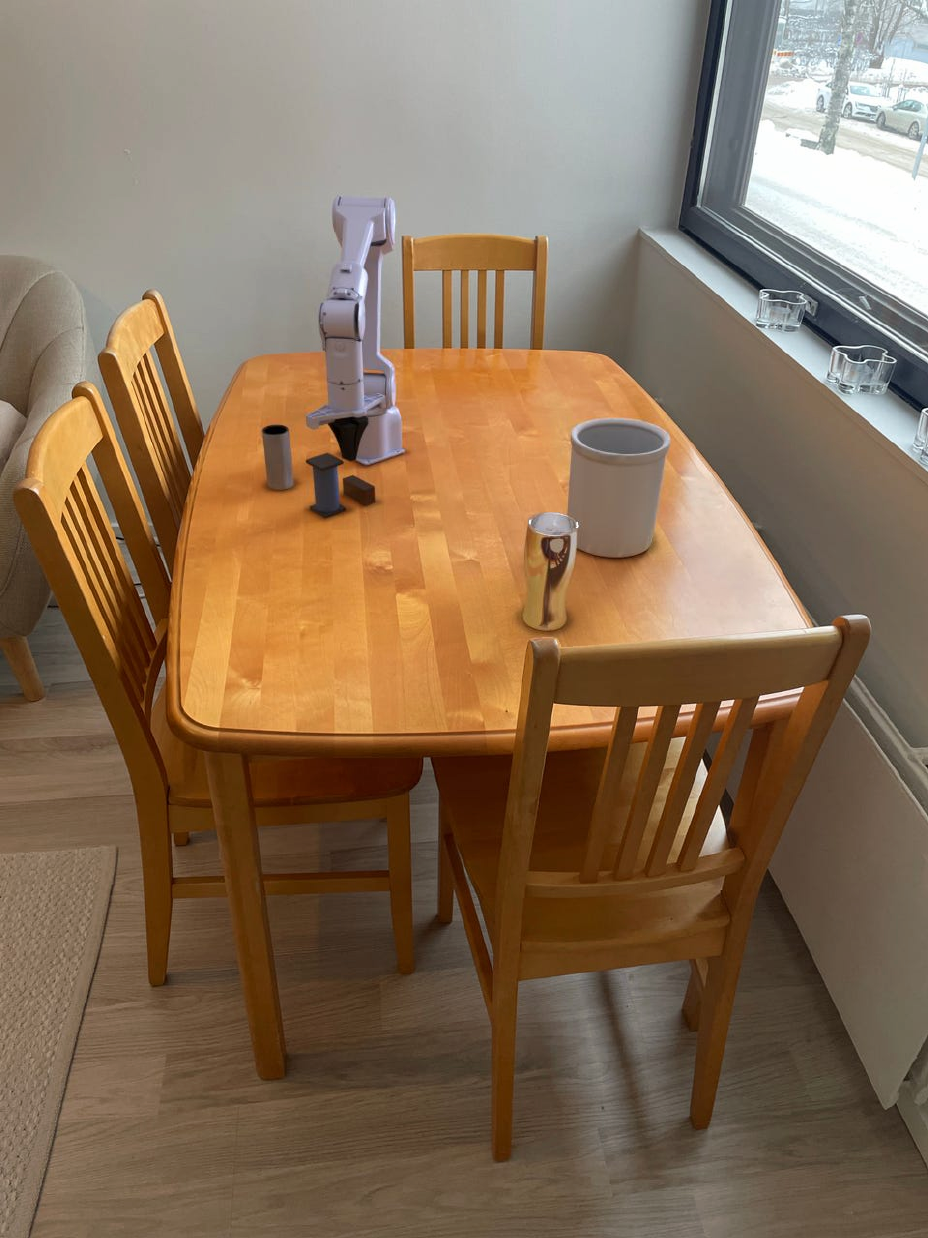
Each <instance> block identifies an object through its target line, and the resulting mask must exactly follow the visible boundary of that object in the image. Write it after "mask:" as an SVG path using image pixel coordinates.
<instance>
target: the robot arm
mask: <svg viewBox="0 0 928 1238" xmlns="http://www.w3.org/2000/svg"><path fill="white" fill-rule="evenodd" d="M331 208H332V209H331V220H332V228H333V232H334V234H335V236H336V239H337V242H338V244H339V245H340V248H341V252H340V262H338V263H336V264H335V265H334V266H333V267H332V269H331V274H330V279H329V284H328V289H327V292H326V293H327V294H326V299H325V301H324V302H320V303H319V305H318V306H319V307H318V313H317V315H318V316H317V324H318V331H319V336H320V341H321V348H322V351H323V352H324V358H325V373H326V386H327V402H328V403H326V404H324V405H323V406H321V407H319V408H317V409H316V410H314V411H312V412H310V413H307V414H305V425H306V427H307V428H309V429H311V430H313V431H315V430H319V428H320V427H322V426H324V425H328V427H329V429H330V430H331V432H332V434H333V435H334V437H335V439H336V442H337V444H338V447H339V450H340V453H341V457H342V459H344V460H346V461H348V462H353V461H356V462H358V463H360V464H362V465H363V466H370V465H373V464H376V463H378V462H381V461H384V460H387V459H390V458H393V457H396V456H399V455H401V454H404V453H405V452H406V450H405V449H404V448H403V436H402V435H403V430H402V428H403V426H402V425H403V424H402V415H401V413H400V410H399V408H398V407H397V406H396V405H395V403H396V395H397V382H396V369H395V367H394V364H393V363H392V362H391V361H390V360H389V359H387V358H386V357H385V356H383V354H382V353H381V349H380V348H381V309H382V308H381V306H382V305H381V303H382V299H381V298H382V267H383V262H384V258H385V255H387V254H389V253H391V252H393V251H394V247H395V242H396V205H395V202H394V200H393V199H392V197H388V196H387V197H365V196H364V197H363V196H342V195H336V196H335V198H334V199H333V202H332V207H331ZM365 371H379V372H365Z"/></svg>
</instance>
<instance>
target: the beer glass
mask: <svg viewBox="0 0 928 1238" xmlns="http://www.w3.org/2000/svg"><path fill="white" fill-rule="evenodd" d="M577 540H578V523H577V522H576V520H575V519H573V518H572V517H570V516H568V515H567V514H566V513H562V512H555V511H544V512H539V513H536V514H533V515H532V516H531V517H529V518H528V521H527V527H526V533H525V539H524V546H523V547H524V548H523V550H524V551H523V566H524V574H525V575H524V576H525V582H526V602H525V604H524V609H523V611H522V620H523V622H524V623H525V624H526V625H527V626H528V627H530V628H532V629H535V630H537V631H542V632H543V631H544V632H549V631H550V632H551V631H555V630H559V629H561V628H562V627H564V626H565V625H566V623H567V619H568V618H567V607H566V606H567V605H566V598H567V593H568V590H569V587H570V584H571V581H572V577H573V575H574V572H575V571H574V570H575V566H576V563H577V562H576V561H577V554H578V548H577Z"/></svg>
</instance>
